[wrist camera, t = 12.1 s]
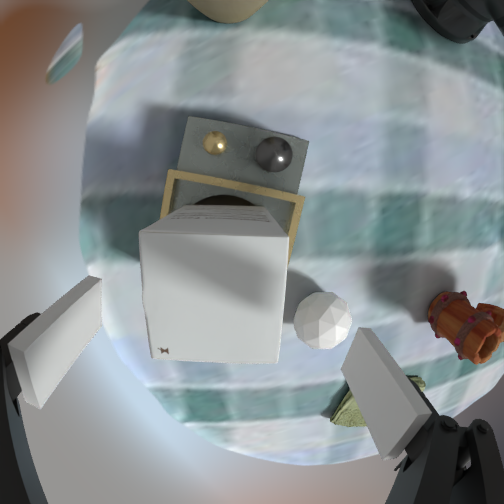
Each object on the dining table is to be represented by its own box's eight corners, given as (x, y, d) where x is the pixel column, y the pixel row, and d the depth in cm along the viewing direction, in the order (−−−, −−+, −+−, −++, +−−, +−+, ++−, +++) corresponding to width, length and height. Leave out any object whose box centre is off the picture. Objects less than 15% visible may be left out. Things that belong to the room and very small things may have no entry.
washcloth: (355, 368, 45) (361, 379, 42) (424, 374, 47) (431, 383, 44) (324, 418, 48) (328, 430, 45) (393, 420, 50) (398, 429, 47)
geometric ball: (323, 292, 43) (368, 304, 37) (305, 342, 42) (349, 359, 36) (293, 278, 38) (344, 291, 32) (273, 335, 37) (320, 357, 31)
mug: (416, 332, 43) (463, 382, 29) (423, 290, 41) (479, 333, 27) (472, 315, 44) (519, 352, 29) (479, 277, 41) (534, 308, 27)
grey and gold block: (191, 118, 33) (179, 103, 26) (305, 141, 35) (322, 134, 27) (163, 279, 39) (146, 304, 31) (267, 299, 40) (274, 328, 32)
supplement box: (263, 286, 33) (280, 369, 18) (183, 283, 32) (148, 362, 18) (267, 205, 30) (294, 235, 16) (182, 202, 30) (134, 230, 16)
